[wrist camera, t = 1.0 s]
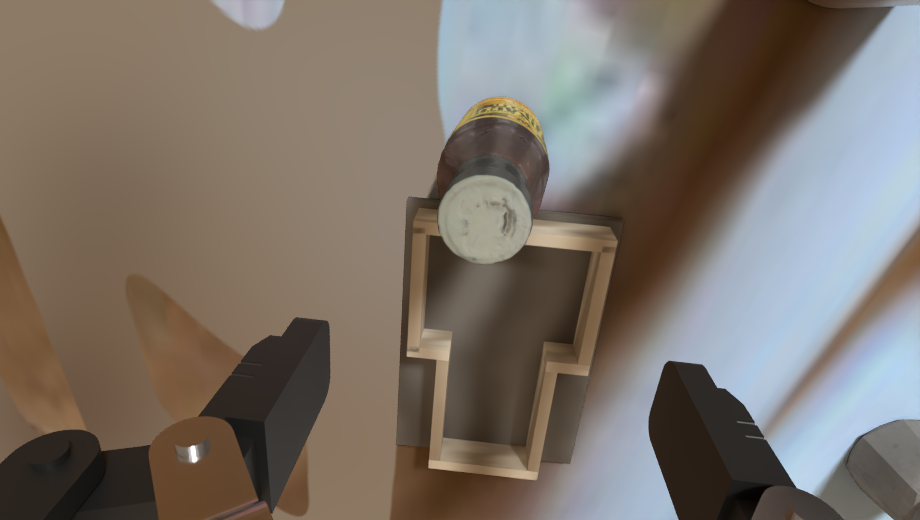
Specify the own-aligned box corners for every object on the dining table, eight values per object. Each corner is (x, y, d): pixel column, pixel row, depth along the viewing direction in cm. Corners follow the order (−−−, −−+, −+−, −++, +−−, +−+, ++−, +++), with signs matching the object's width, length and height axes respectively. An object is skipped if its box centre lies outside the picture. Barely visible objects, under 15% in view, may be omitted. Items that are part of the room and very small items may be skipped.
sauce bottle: (557, 123, 39) (607, 208, 21) (509, 191, 42) (518, 320, 24) (483, 74, 38) (468, 118, 20) (439, 146, 41) (390, 245, 22)
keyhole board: (621, 217, 42) (633, 236, 38) (568, 456, 52) (574, 488, 48) (408, 196, 42) (400, 212, 39) (398, 437, 53) (390, 467, 49)
